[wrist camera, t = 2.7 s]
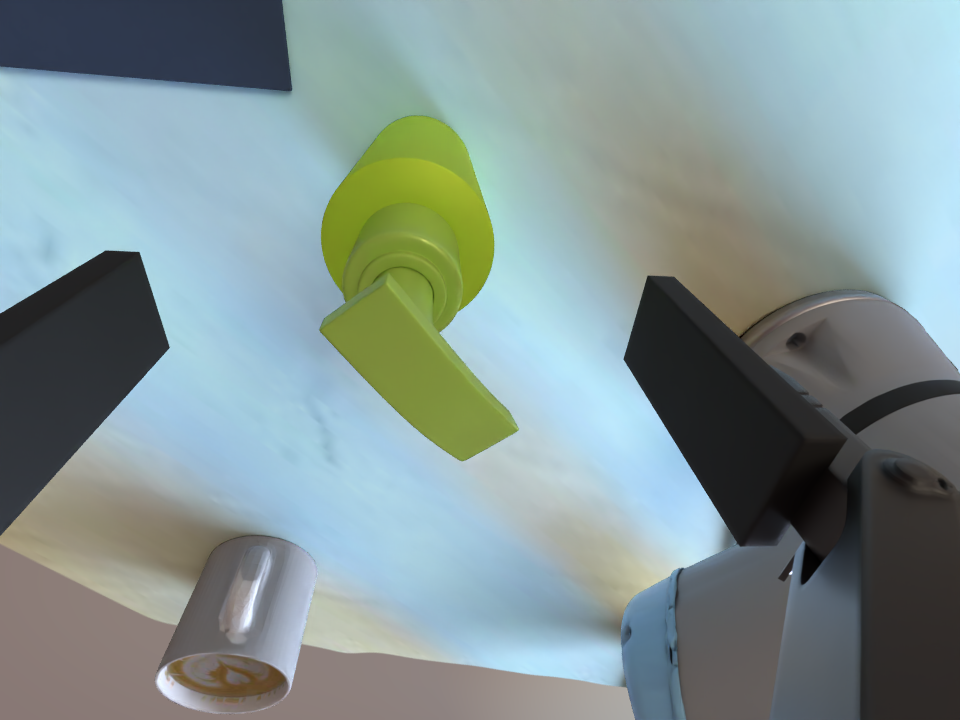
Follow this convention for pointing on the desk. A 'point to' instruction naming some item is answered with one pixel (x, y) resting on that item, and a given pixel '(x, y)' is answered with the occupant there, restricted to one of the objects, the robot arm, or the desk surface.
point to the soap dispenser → (414, 280)
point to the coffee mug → (241, 628)
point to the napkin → (150, 39)
